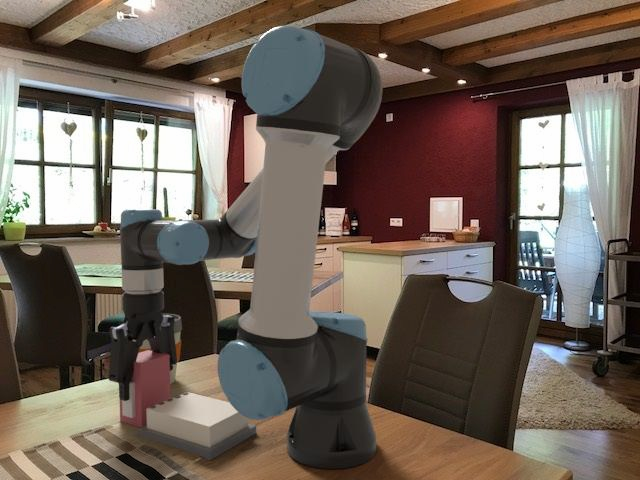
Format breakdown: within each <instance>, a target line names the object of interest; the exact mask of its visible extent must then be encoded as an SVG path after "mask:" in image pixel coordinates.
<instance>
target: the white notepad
mask: <svg viewBox="0 0 640 480" xmlns="http://www.w3.org/2000/svg"><path fill="white" fill-rule="evenodd" d="M146 410H147V425H146V426H143V427H139V428H138V436H139V437H142V438H145V439H148V440H151V441H154V442H158V443H161V444H164V445H167V446H170V447H173V448H175V449H176V448H177V449H178V450H182V451H185V452H188V453H190V454H194V455H197V456H199V458H202V459H205V460H208V461H212V460H213V459H215V458H217V457H219V456H220V455H222V454H224V453H225V452H227V451H230V449H232V448H234V447H236V446H237V445H239V444H241V443H243V442H245V441H246V440H248V439H249V438H251V437H253V436H255V435H256V434H257V425H256V424H253V423H249V418H247V417H245V416H243V415H242V414H240V413H239V412H238V411H237V410H235V408H234V407H233V406H232V405H231V404H230V402H229V401H225V400H221V399H216V398H213V397H209V396H205V395H201V394H197V393H192V392H189V391H187V392H186V391H185V392H182V394H180V395H179V394H177V395H175V396H174V397H172V398H170V399H167V401H164V402H160V403H158V404H157V405H152V406H150V407H149V408H147V409H146Z"/></svg>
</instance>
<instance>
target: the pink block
mask: <svg viewBox="0 0 640 480" xmlns="http://www.w3.org/2000/svg"><path fill="white" fill-rule="evenodd" d="M131 381H132V382H135V416H136V417H134V418H130V417H127V416H124V415H122V400H120V399H119V421H120V422H123V423H125V424H128V425H130V426H131V425H132V426H136V427H139V428H141V427H143V426H146V425H147V410H146V409H147V408H149V407H150V406H152V405H157V404H158V403H160V402H164V401H167V399H171V384H170V354H165V353H162V354H160V353H155V352H152V351H150V350H147V351H144V352H140V353H138V356H137V360H136V362H134V371H133V375H132V379H131Z"/></svg>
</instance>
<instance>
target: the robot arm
mask: <svg viewBox="0 0 640 480" xmlns="http://www.w3.org/2000/svg"><path fill="white" fill-rule="evenodd" d="M382 80H383V79H382V76H381V74H380V70H379V69H378V66H377V64H376V63H375V61H374V60H373V59H372V57H370V56H369V55H368V54H367V53H366V52H364V51H363V50H362V49H361V50H360V49H359V48H356V47H355V46H352V45H347V44H345V43H342V42H340V41H339V40H338V41H337V40H335V39H332V38H331V37H327V36H325V35H322V34H320V33H318V32H316V31H314V30H312V29H309V28H300V27H297V26H295V25H288V24H287V25H279V26H276V27H273V28H272V29H269V30H268V31H266V32H265V33H264V34H263V35H262V36H260V38H259V40H258V42H256V43H254V44H253V45H252V47H251V49H250V51H249V52H248V54H247V57H246V59H245V61H244V65H243V69H242V73H241V90H242V91H241V92H242V95H243V97H244V98H246V99H245V102H246V104H247V106H248V107H249V108H250V109H252V110H253V112H254V113H256V121H255V122H256V123H255V130H256V132H257V133H258V134H259V135H260V137H261V138H262V139H263V141H264V145H265V147H264V148H265V149H264V157H263V168H262V169H261V170H260V171H259V172H258V173H257V175H256V176H255V177H254V178H253V179H252V180H251V182H250V183H248V186H247V187H246V188H245V189H244V190H243V191H242V192H241V194H240V195H239V196H238V197H237V198H236V200H235V201H234V202H233V203H232V204H231V205H230V206H229V208H228V209H227V211H225V213H223V214H222V216H221V217H220V218H218V219H216V218H215V219H190V220H189V219H183V220H180V219H179V220H164V219H163V213H162V210H160V209H154V208H151V209H147V208H143V209H141V208H139V209H138V208H137V209H136V208H135V209H131V208H130V209H124V210H122V212H121V214H120V226H119V227H120V228H119V233H120V234H119V235H120V261H121V263H120V264H121V289H122V290H123V291H124V292H123V293H122V294H121V295H122V296H121V302H122V303H121V307H122V312H123V314H124V319H123V322H122V324H120V325H119V326H111V327H110V328H109V331H108V332H109V335H110V339H111V342H110V343H111V344H110V355H109V367H108V369H109V370H108V380H109V381H110V382H114V383H117V384H118V398H119V401H120V400H122V415H124V416H127V417H130V418H134V417H136V416H135V382H132V381H131V379H132V375H133V371H134V362H136V360H137V356H138V352H139V348H140V347H141V346H142V344H143V341H144V340H146V339H147V340H148V341H149V344H150V347H151V350H152V352H155V353H160V354H162V353H165V354H170V357H171V358H170V371H171V370H172V369H173V366H172V365H173V364H174V365H175V364H176V363H177V364H178V362H177V354H176V346H175V337H174V322H175V317H174V316H168V315H163V314H164V313H163V312H162V311H163V310H164V308H165V298H164V297H165V296H164V295H165V293H164V291H163V290H162V289H163V288H164V285H165V283H164V282H165V281H164V263H166V264H167V263H168V264H174V265H176V266H182V265H194V264H196V263H198V262H201V261H202V262H203V261H209V260H220V259H221V260H222V259H231V258H233V259H238V258H239V259H240V258H242V257H243V258H244V257H247V256H251V255H253V254H254V256H255V257H254V265H253V274H252V275H253V276H252V285H251V286H252V288H251V298H250V308H249V309H248V310H247V311H246V312H245V313H243V314H242V315H241V316H239V318H238V320H237V321H238V323H237V331H236V332H237V335H236V339H235V340H230V341H229V342H228V343H227V344H225V346H224V347H223V348H222V349H221V350H220V352H219V355H218V357H217V376H218V381H219V383H220V388H221V390H222V393H224V395H225V396H226V398H227V402H230V404H231V405H232V406H233V407H234V408H235V410H237V411H238V412H239V413H240V414H242V415H243V416H245V417H247V418H248V420H249V419H250V420H253V421H262V420H263V421H264V420H266V419H268V418H271V417H279V416H282V415H283V414H284V413H285V412H287V411H290V410H293V409H294V412H293V414H292V415H293V416H292V419H291V421H290V424H289V427H288V431H287V434H286V451H287V454H288V455H289V456H290V458H292V459H293V460H295V461H297V462H299V463H300V464H303V465H306V466H309V467H313V468H319V469H329V470H331V469H332V470H333V469H347V468H351V467H356V466H359V465H362V464H364V463H367V462H368V461H369V460H371V459H372V458H373V457H374V456H375V455H376V452H377V435H376V434H377V433H376V431H375V428H374V425H373V422H372V418H371V415H370V411H369V408H368V406H367V345H368V344H367V343H368V337H367V326H366V323H365V321H364V319H363V318H361V316H360V317H359V316H357V315H354V314H349V313H344V312H343V313H342V312H335V311H334V312H332V311H322V310H321V311H320V310H310V308H311V298H312V288H313V281H314V272H315V262H316V254H317V253H316V252H317V245H318V238H319V237H318V236H319V235H318V234H319V227H320V218H321V217H320V216H321V207H322V201H323V190H324V181H325V174H326V173H325V172H326V164H327V163H328V162H329V161H330V160H331V159H332V158H333V157H334V156H335V155H336V154H337V153H338V152H339V151H347V150H349V149H350V148H351V147H352V146H353V145H354V144H355V143H356V142H357V141H358V140H359V139H361V137H362V136H363V135H364V133H365V132H366V131H367V129H369V126H371V123H372V122H373V121H374V120H375V118H376V115H377V114H378V112H379V109H380V106H381V103H382V100H383V97H382V96H383V89H384V87H383V82H382ZM160 326H161V331H160ZM126 331H127V334H126ZM133 340H136V341H133Z"/></svg>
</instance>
